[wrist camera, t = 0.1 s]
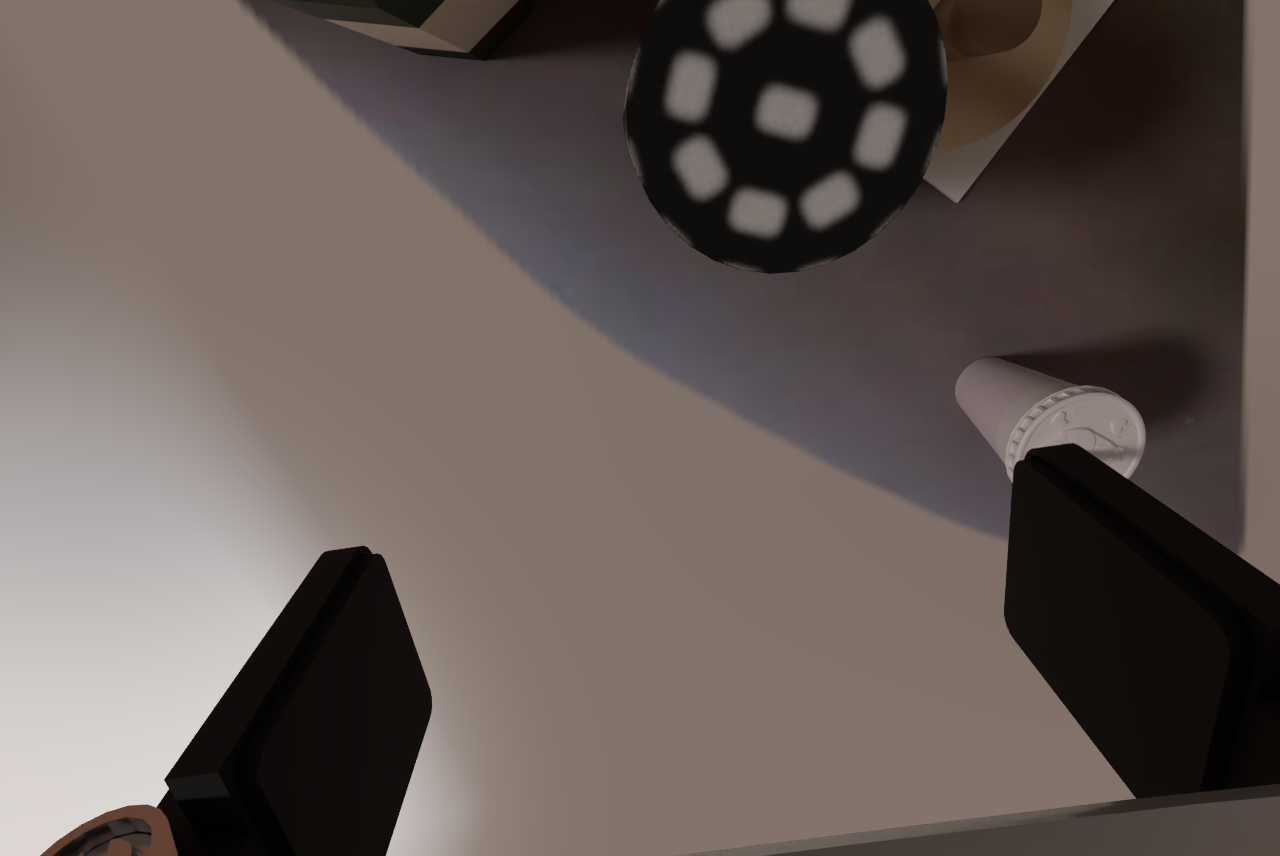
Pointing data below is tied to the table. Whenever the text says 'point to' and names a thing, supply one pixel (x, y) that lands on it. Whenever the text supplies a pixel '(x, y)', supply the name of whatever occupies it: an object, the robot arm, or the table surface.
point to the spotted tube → (784, 123)
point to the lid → (996, 60)
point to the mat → (966, 162)
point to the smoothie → (1048, 414)
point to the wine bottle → (426, 22)
